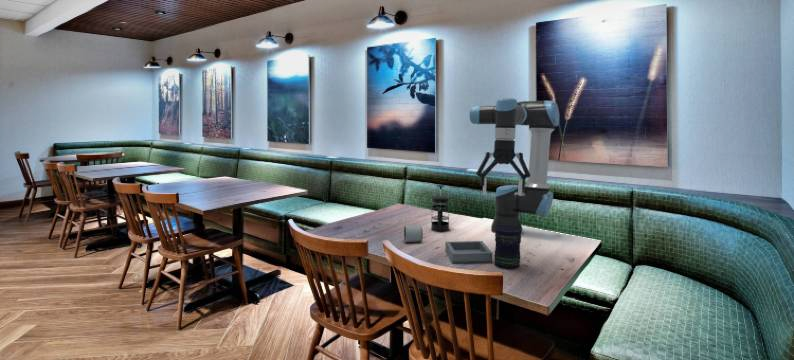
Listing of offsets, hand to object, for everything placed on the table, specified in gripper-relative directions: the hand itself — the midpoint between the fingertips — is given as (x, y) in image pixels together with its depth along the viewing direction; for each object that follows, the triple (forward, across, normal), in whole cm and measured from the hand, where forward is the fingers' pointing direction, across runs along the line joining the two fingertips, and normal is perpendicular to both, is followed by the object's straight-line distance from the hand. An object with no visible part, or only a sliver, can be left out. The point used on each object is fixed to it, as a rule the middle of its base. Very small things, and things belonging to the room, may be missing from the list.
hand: (501, 194), depth 160 cm
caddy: (+28, -11, +9) cm, 31 cm away
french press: (+26, -20, +49) cm, 59 cm away
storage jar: (+28, +3, -1) cm, 28 cm away
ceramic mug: (+28, -34, +30) cm, 53 cm away
